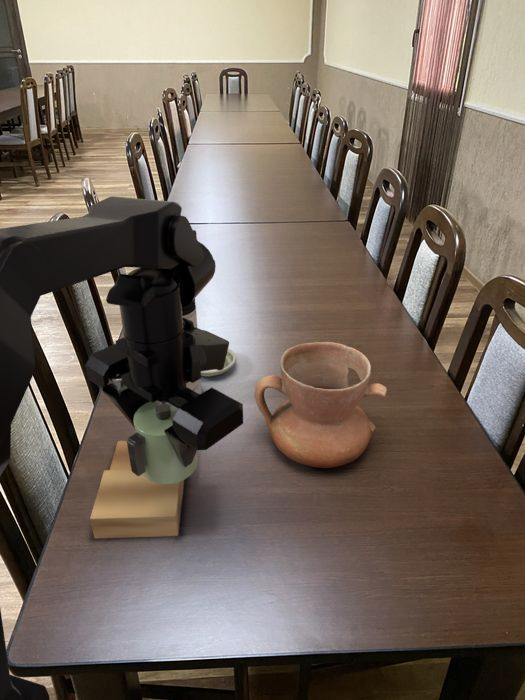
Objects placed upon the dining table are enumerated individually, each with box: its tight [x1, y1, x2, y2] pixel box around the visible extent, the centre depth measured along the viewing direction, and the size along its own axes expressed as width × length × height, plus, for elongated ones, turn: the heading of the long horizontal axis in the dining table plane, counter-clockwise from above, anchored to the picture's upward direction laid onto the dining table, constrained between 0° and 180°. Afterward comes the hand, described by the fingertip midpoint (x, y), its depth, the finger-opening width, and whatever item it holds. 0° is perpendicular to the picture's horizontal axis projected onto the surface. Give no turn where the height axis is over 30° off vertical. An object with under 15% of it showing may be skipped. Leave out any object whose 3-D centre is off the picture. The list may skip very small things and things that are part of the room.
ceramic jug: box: [254, 341, 388, 469], centre depth 76 cm, size 18×14×14 cm
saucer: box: [201, 347, 237, 377], centre depth 96 cm, size 10×10×2 cm
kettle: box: [126, 402, 198, 484], centre depth 60 cm, size 10×6×8 cm, turn 139°
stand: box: [89, 440, 185, 539], centre depth 71 cm, size 16×10×4 cm, turn 2°
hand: (167, 450), depth 60 cm, fingers closed on kettle, 6 cm apart
